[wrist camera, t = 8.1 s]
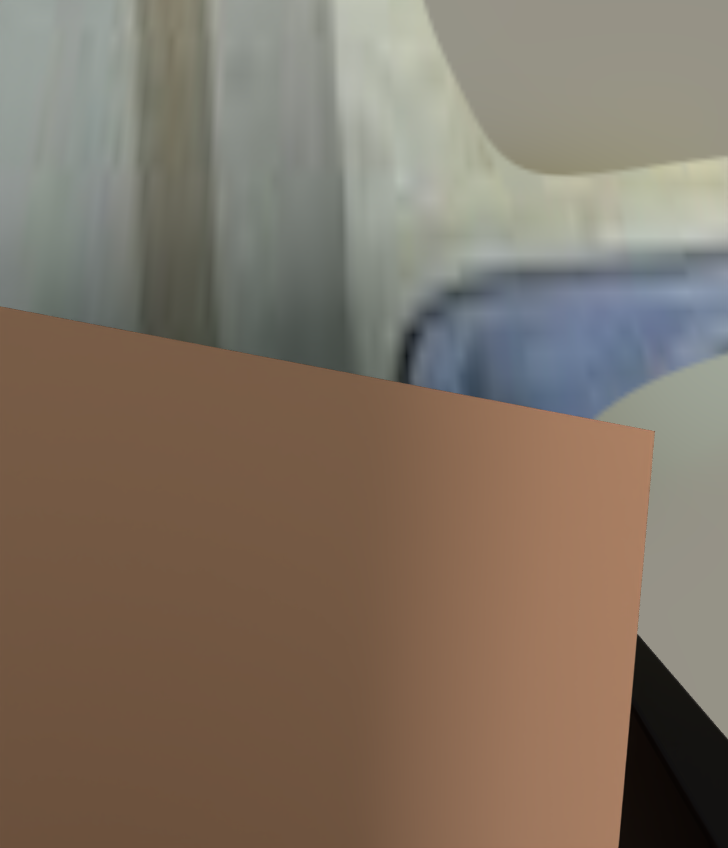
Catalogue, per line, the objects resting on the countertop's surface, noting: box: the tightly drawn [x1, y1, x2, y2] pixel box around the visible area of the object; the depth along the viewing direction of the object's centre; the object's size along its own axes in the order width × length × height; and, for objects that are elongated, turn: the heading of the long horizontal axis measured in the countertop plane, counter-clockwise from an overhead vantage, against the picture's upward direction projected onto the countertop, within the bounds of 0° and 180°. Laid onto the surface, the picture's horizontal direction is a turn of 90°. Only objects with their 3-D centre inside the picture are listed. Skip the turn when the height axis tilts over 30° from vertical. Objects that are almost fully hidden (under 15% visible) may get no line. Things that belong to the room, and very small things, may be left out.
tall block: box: [0, 307, 655, 848], centre depth 10 cm, size 6×6×12 cm
